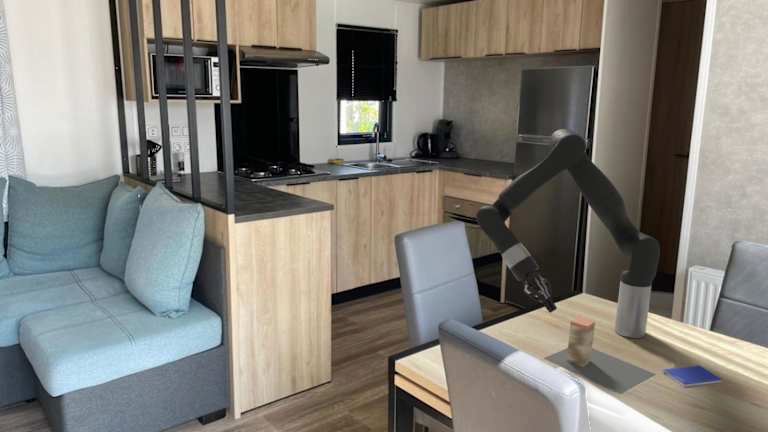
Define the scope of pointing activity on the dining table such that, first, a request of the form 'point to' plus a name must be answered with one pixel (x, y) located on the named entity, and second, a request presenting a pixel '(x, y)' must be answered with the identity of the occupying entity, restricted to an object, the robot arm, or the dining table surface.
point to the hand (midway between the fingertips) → (553, 310)
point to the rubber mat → (604, 370)
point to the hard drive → (691, 375)
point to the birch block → (580, 341)
